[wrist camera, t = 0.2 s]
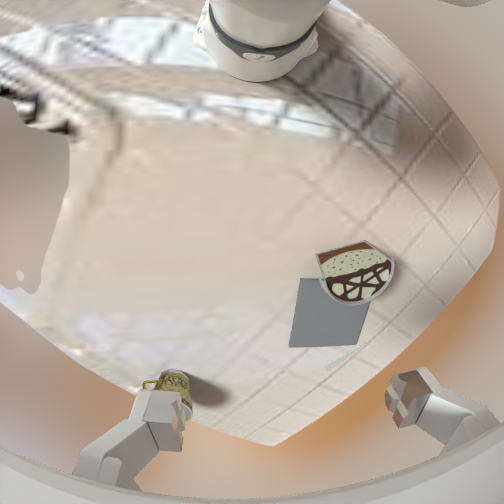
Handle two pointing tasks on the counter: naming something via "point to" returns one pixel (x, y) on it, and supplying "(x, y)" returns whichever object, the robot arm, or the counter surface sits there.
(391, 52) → the counter surface
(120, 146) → the counter surface
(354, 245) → the food container
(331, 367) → the butter knife
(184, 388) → the ceramic cup
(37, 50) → the counter surface
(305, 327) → the mat
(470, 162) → the counter surface
